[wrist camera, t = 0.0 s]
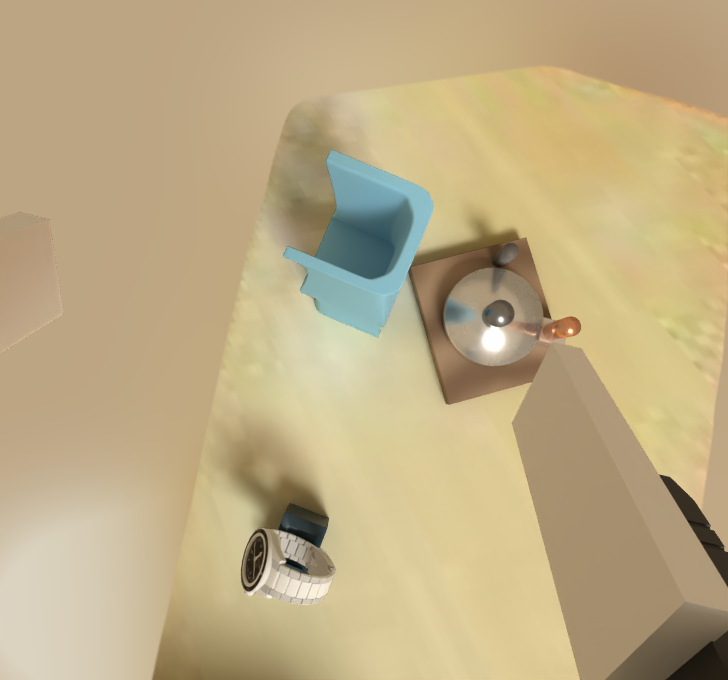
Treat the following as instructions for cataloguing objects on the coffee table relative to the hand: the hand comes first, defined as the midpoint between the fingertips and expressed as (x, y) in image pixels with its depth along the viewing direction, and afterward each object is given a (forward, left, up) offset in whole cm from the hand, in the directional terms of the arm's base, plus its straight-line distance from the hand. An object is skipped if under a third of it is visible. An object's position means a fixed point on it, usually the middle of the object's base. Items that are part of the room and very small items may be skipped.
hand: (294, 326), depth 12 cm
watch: (-15, +8, -36) cm, 40 cm away
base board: (+1, -17, -36) cm, 40 cm away
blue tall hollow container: (+8, -4, -36) cm, 37 cm away
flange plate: (0, -18, -34) cm, 38 cm away
